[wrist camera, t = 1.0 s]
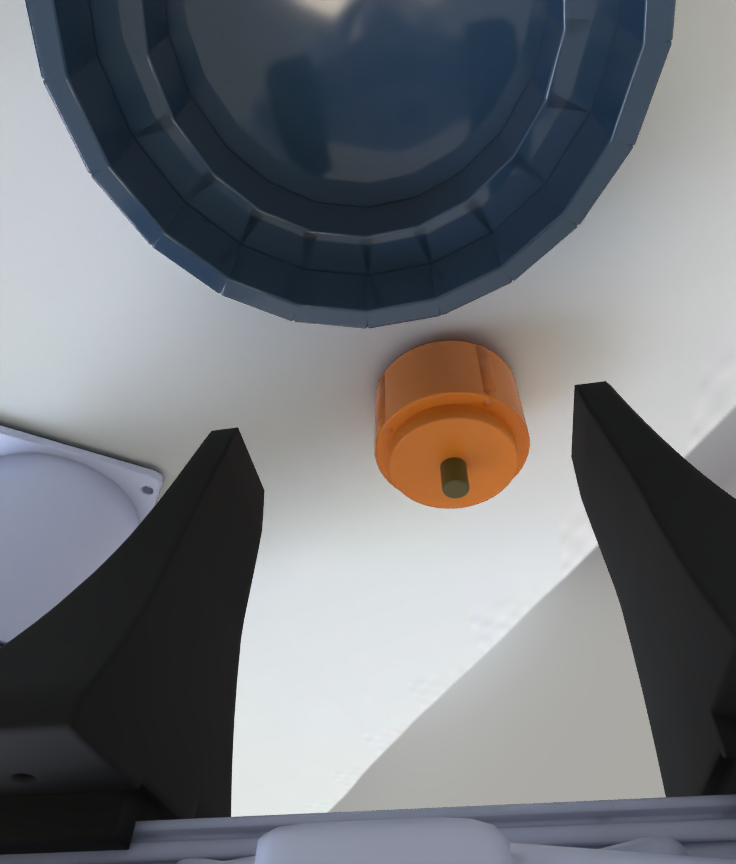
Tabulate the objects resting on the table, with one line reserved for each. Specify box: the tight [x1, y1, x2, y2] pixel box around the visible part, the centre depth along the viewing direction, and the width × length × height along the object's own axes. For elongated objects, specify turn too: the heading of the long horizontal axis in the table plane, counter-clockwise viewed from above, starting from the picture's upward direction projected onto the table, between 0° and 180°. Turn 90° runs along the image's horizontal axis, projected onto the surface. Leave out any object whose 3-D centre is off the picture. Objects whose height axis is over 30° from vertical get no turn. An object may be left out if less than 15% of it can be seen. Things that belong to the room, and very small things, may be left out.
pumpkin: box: [375, 340, 530, 508], centre depth 23 cm, size 6×6×5 cm
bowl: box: [25, 0, 676, 328], centre depth 15 cm, size 13×13×4 cm
